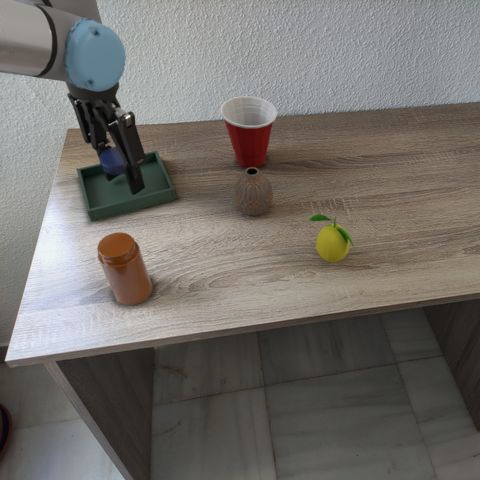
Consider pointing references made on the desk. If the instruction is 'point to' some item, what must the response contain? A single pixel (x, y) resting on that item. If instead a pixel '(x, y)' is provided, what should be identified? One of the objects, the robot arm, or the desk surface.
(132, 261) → the jam jar
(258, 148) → the plastic cup
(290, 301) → the desk surface
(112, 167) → the jar lid
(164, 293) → the desk surface
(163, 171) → the tray
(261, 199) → the vase
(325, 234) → the lemon
